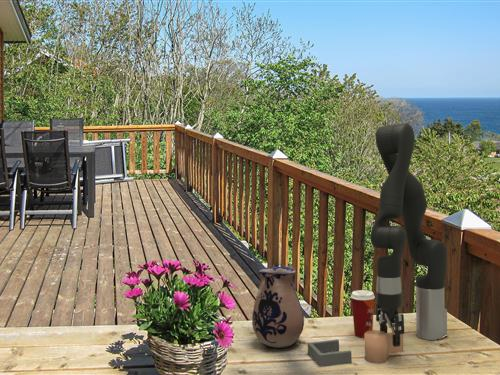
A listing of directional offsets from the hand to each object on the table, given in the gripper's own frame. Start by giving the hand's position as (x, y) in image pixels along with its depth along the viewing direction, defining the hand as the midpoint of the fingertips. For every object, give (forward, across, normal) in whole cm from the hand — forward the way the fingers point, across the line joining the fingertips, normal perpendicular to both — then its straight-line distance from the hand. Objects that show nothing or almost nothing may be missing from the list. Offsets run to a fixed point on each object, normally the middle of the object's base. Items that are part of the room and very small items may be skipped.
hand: (389, 341), depth 182 cm
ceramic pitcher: (+6, +25, +28) cm, 38 cm away
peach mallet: (+5, +1, +2) cm, 6 cm away
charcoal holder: (+5, +6, +17) cm, 19 cm away
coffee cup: (+6, +22, -1) cm, 23 cm away
